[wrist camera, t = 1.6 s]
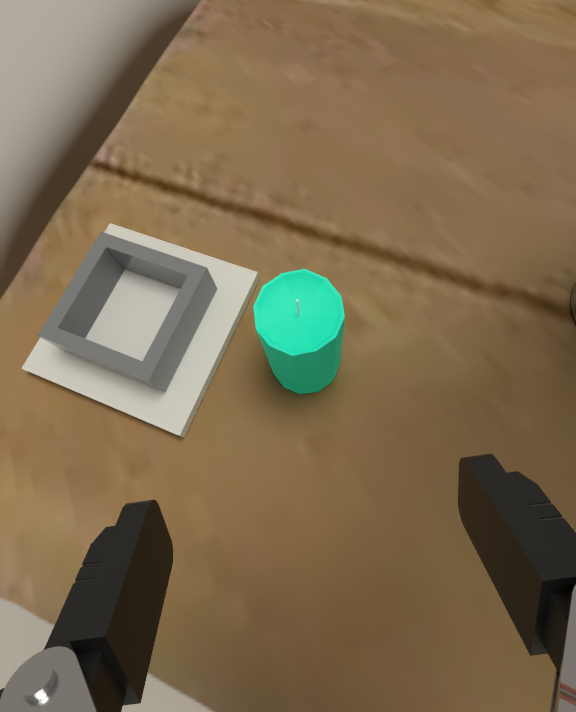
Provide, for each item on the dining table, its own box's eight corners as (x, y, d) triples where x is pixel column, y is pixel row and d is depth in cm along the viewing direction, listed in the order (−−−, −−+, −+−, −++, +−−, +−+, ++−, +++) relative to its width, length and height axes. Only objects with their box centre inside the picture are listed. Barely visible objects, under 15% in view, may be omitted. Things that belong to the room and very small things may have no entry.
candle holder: (115, 230, 44) (90, 197, 40) (259, 278, 41) (251, 249, 37) (30, 372, 40) (-10, 354, 35) (183, 437, 37) (163, 428, 32)
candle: (276, 325, 40) (257, 253, 28) (343, 332, 39) (351, 262, 28) (265, 389, 38) (240, 340, 26) (335, 398, 37) (340, 351, 26)
